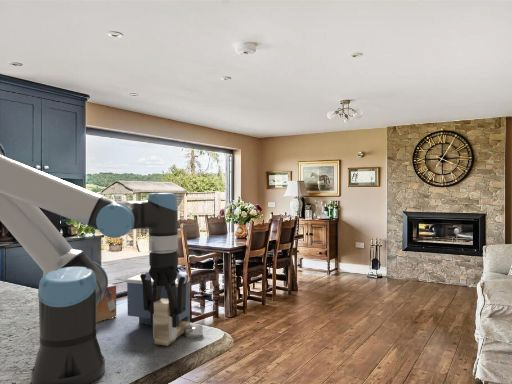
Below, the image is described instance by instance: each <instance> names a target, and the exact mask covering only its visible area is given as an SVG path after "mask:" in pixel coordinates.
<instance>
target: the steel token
mask: <svg viewBox="0 0 512 384" xmlns="http://www.w3.org/2000/svg"><path fill="white" fill-rule="evenodd" d="M203 328H204V327H203V325H202V324H201V325H200V324H196V323H195V324H190V325H188V326H186V327H185V332H184V338H186V339H191V340H193V339H195V340H196V339H198V338H202V337H203V332H204V331H203V330H204V329H203Z"/></svg>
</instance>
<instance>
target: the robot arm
mask: <svg viewBox="0 0 512 384" xmlns="http://www.w3.org/2000/svg"><path fill="white" fill-rule="evenodd" d="M40 208H41V209H40ZM42 209H43V210H45V211H48V212H51V213H53V214H56V215H58V216H62V217H64V218H66V219H69V220H72V221H74V222H77V223H80V224H82V225H85V226H88V227H89V228H92V229H94V230H97V231H99V232H100V233H101V234H102V235H103V236H105V237H107V238H110V239H113V238H114V239H115V238H116V239H118V238H120V237H123V236H126V235H127V234H128V233H130V232H131V230H147V229H148V250H149V251H150V252H149V255H148V258H149V259H148V261H149V262H148V263H149V266H150V268H149V270H148V272H147V271H146V272H143V273H140V274H141V275H140V277H141V280H142V283H143V304H144V310H145V311H146V310H147V311H149V312H150V314H151V324H150V325H151V326H152V334H153V335H152V336H153V337H152V339H154V302H156V301H158V300H160V296H161V291H162V287H163V286H165V290H166V291H167V295H168V300H169V306H170V311H171V314H170V315H169V316H168V319H169V341H172V340H173V339H175V338H176V327H177V326H178V325H179V314H181V313H183V312H184V311H185V310H186V283H187V280H188V278H189V275H187V274H185V275H183V274H182V273H180V270H179V268H178V265H179V252H178V249H179V238H178V237H179V232H178V231H179V230H178V229H179V228H178V227H179V224H178V223H179V217H178V214H179V212H178V211H179V210H178V197H177V195H176V194H175V193H174V192H151V193H149V194H148V198H147V199H146V200H113V199H111V198H108V197H106V196H104V195H101V194H98V193H96V192H93V191H91V190H89V189H86V188H83V187H81V186H79V185H76V184H74V183H72V182H69V181H66V180H63V179H61V178H58V177H56V176H55V175H54V176H53V175H51V174H48V173H47V172H44V171H41V170H40V169H39V170H38V169H36V168H33V167H31V166H29V165H26V164H24V163H21V162H19V161H16V160H13V159H12V158H8V157H7V154H6V149H5V148H4V146H3V145H2V144H1V143H0V222H1V223H2V224H3V226H4V227H6V230H8V232H10V234H11V235H12V236H13V238H15V240H16V242H18V243H19V244H20V245H21V246H22V247H23V249H24V250H25V252H27V254H28V255H29V256H30V257H31V258H32V260H33V261H34V262H35V263H36V264H37V266H38V267H39V268H40V269H41V270H42V272H43V273H42V277H41V278H40V280H39V283H38V284H39V285H38V291H37V296H38V310H39V312H38V317H39V348H38V351H37V353H36V357H35V362H34V365H33V367H32V369H31V374H30V376H31V377H30V378H31V380H30V381H31V384H92V383H94V382H95V381H96V380H99V379H100V378H102V377H103V374H105V371H106V360H105V357H104V355H103V353H102V351H101V346H100V343H99V340H98V337H97V323H96V308H97V306H98V305H99V303H100V302H101V301H102V299H103V298H104V297H105V295H106V292H107V288H108V283H109V278H108V275H107V271H106V270H105V269H104V267H102V265H101V264H99V263H97V262H95V261H92V260H91V259H90V258H89V256H88V255H87V254H86V253H85V251H83V250H82V249H74V248H73V247H72V246H71V244H70V243H69V242H68V241H67V240H66V238H65V237H64V236H63V235H62V234H61V232H60V231H59V230H58V229H57V227H56V226H55V225H54V224H53V222H51V220H50V219H49V218H48V216H46V214H45V212H43V211H42ZM151 278H152V279H153V287H152V282H151ZM176 279H178V280H177V282H178V290H177V294H176V289H175V288H176V284H175V280H176ZM152 288H153V293H152ZM176 339H177V338H176ZM176 339H175V340H176Z"/></svg>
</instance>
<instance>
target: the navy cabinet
mask: <svg viewBox="0 0 512 384" xmlns="http://www.w3.org/2000/svg"><path fill="white" fill-rule="evenodd" d="M141 274H142V273H140V274H137V275H134V276H132V277H128V278H125V283H126V284H127V286H126V287H127V288H126V290H127V297H126V298H127V317H137V318H138V324H143V323H146V324H145V325H151V314H150V312H149V311H147V310H146V311H145V310H144V304H143V283H142V280H141V277H140V275H141ZM190 279H191V277H188V280H187V283H186V310H185V311H184V312H183V313H181V314H179V321H187V322H190V323H191V296H190V295H191V291H190V290H191V287H190V286H191V285H190V282H191V281H190ZM177 280H178V279H176V280H175V284H176V288H175V289H176V294H177V290H178V282H177ZM151 282H152V287H153V279H152V278H151ZM152 293H153V288H152ZM162 298H163V299H168V295H167V291H166V290H165V286H163V287H162V291H161V296H160V299H162Z"/></svg>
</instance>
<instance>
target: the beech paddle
mask: <svg viewBox="0 0 512 384" xmlns="http://www.w3.org/2000/svg"><path fill="white" fill-rule="evenodd" d="M170 314H171V311H170V306H169V300H168V299H163V298H162V299H160V300H158V301H156V302H154V338H153V341H154V342H153V343H154V345H159V346H160V345H161V346H169V345H171V344H172V343H174V342H175V341H176V339H177V338H179V337H180V336H181V335H182V334H185V327H186V326H188V325H191V321H190V322H187V321H179V325H178V326H177V327H176V338H175V339H173V340H172V341H169V319H168V316H169V315H170Z"/></svg>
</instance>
